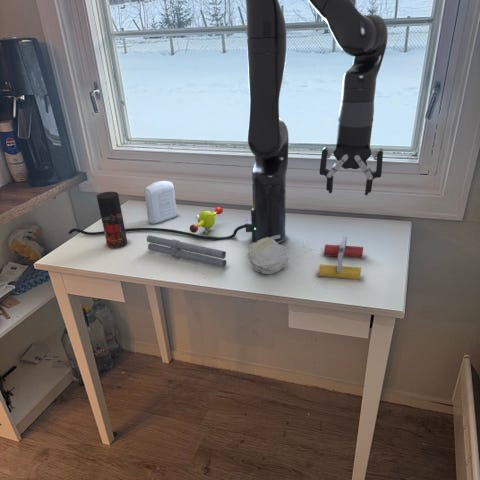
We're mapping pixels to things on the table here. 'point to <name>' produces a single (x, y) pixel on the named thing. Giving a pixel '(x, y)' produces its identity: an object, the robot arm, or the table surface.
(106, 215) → the deodorant
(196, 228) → the toy figure
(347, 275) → the yellow rod
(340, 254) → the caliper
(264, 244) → the fossil replica
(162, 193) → the white rounded block
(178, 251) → the metal rod assembly
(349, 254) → the red rod
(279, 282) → the table surface
